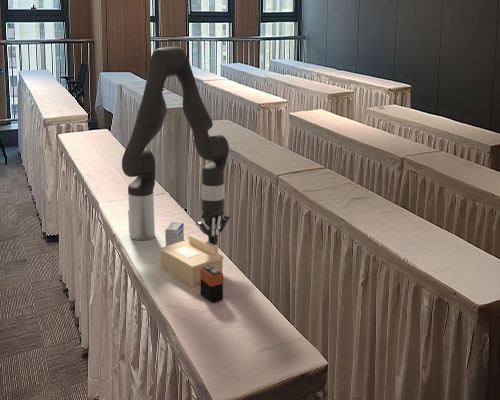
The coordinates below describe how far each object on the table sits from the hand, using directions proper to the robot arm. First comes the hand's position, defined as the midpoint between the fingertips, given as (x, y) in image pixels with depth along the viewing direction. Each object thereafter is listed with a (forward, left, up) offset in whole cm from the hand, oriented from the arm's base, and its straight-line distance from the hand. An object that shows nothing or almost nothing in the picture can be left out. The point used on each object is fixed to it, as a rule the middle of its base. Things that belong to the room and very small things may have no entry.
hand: (212, 244), depth 212 cm
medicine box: (-20, -2, -8) cm, 22 cm away
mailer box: (0, -9, -8) cm, 12 cm away
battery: (+18, -15, -8) cm, 24 cm away
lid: (0, -9, -1) cm, 9 cm away
